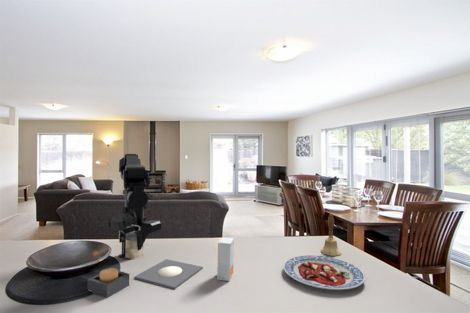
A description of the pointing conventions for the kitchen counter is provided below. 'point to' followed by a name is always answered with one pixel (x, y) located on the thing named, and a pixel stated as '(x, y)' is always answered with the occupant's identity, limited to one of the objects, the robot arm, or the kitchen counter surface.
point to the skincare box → (225, 259)
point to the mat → (169, 273)
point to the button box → (108, 285)
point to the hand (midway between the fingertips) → (134, 248)
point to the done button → (108, 275)
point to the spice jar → (132, 246)
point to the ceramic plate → (324, 272)
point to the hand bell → (330, 240)
